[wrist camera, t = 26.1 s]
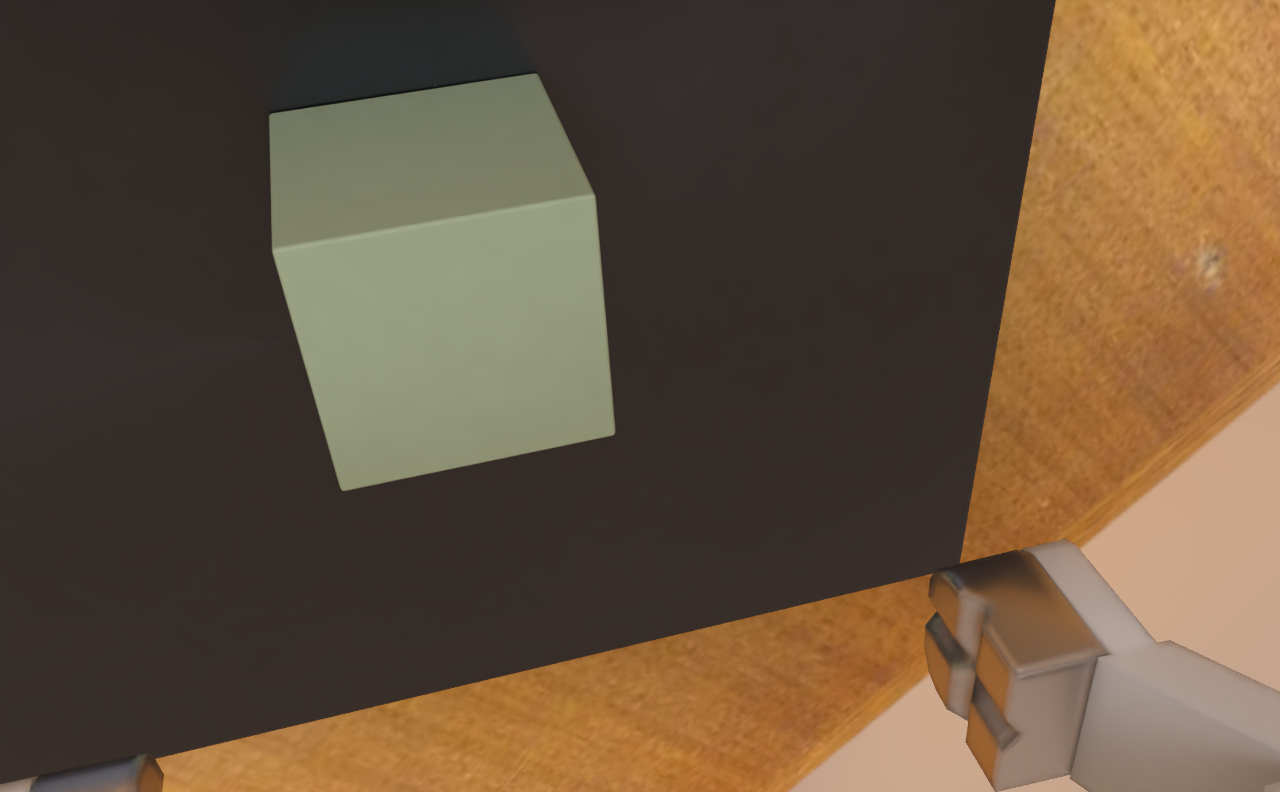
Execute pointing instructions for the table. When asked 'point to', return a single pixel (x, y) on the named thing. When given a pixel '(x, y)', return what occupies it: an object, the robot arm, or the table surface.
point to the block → (441, 277)
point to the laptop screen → (509, 487)
